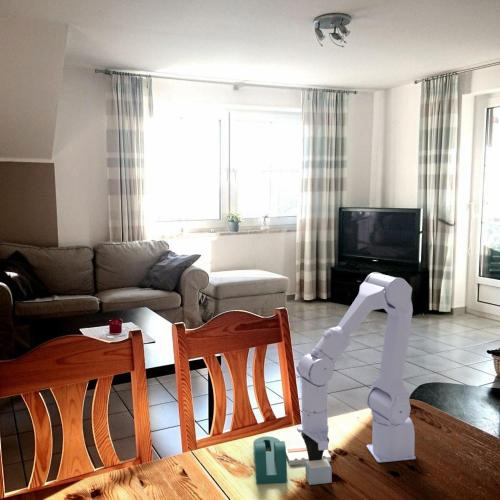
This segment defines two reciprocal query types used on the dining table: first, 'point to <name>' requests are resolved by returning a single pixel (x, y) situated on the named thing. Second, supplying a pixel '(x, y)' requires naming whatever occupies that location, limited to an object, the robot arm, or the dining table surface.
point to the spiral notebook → (301, 455)
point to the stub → (318, 472)
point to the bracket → (270, 460)
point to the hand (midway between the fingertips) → (315, 464)
